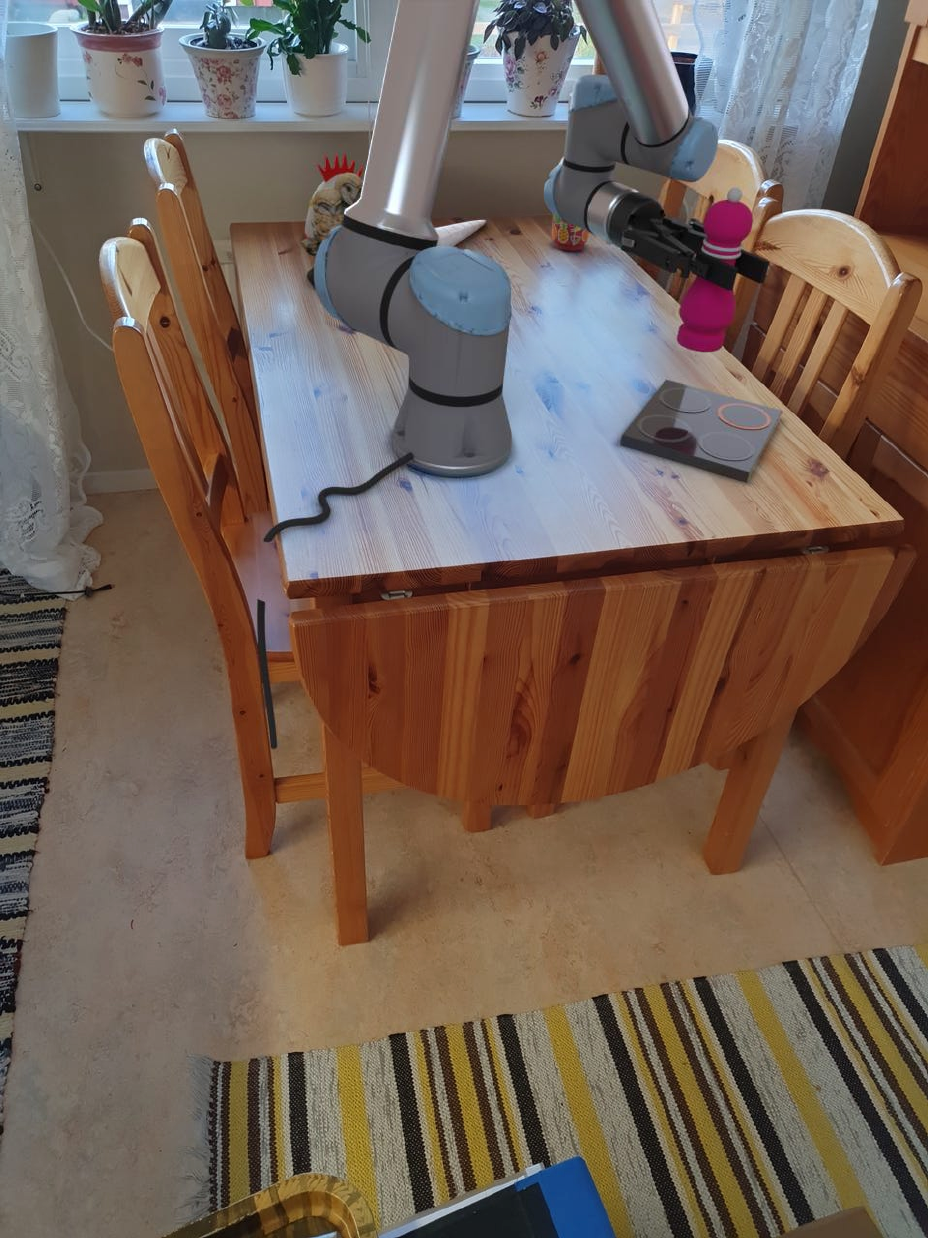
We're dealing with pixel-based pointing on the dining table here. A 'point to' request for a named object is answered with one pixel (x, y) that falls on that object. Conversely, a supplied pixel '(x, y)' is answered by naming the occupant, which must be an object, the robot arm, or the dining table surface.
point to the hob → (703, 430)
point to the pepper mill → (705, 301)
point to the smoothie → (567, 233)
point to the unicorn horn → (457, 232)
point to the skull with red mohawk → (329, 184)
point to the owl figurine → (331, 211)
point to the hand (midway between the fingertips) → (748, 275)
